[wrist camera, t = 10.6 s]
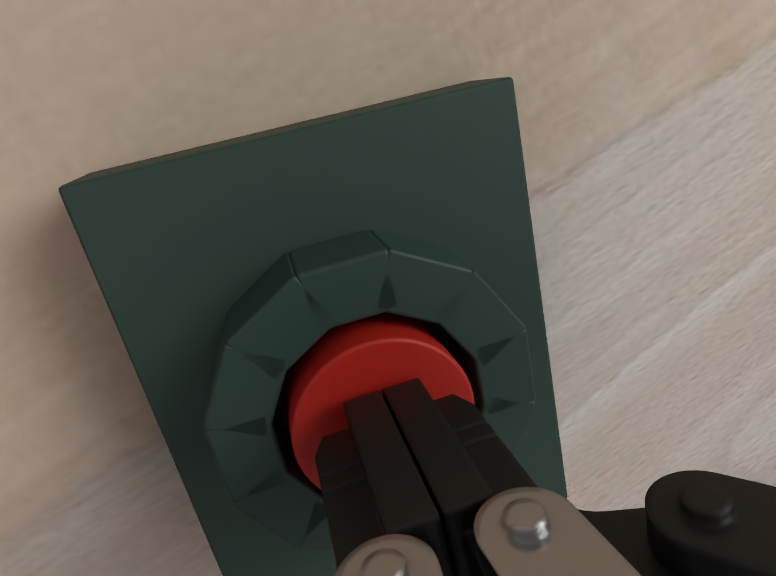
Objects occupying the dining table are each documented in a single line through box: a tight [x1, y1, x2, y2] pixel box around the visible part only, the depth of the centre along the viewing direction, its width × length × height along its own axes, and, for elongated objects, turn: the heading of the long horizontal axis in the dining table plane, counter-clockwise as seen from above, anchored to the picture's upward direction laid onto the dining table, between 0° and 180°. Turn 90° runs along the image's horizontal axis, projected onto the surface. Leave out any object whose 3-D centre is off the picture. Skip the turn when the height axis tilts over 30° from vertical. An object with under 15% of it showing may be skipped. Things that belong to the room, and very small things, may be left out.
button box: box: [59, 77, 567, 576], centre depth 13 cm, size 11×9×4 cm
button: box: [285, 312, 475, 490], centre depth 12 cm, size 4×4×2 cm
